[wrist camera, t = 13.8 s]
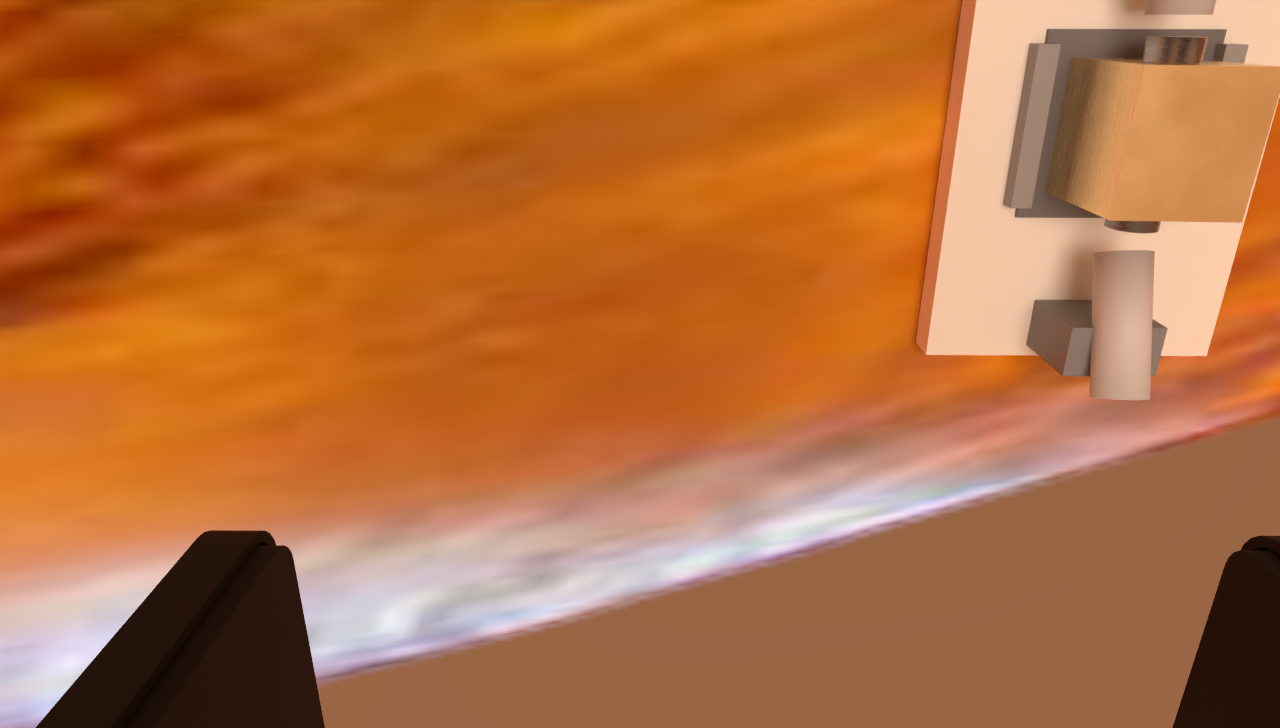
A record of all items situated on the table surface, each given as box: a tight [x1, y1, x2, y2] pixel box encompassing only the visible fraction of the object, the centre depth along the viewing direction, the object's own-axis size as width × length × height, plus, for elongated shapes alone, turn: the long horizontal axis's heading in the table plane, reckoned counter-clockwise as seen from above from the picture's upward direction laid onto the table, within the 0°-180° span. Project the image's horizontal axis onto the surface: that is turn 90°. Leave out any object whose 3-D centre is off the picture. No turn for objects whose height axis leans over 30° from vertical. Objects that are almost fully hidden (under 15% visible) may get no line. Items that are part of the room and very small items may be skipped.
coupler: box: [1045, 36, 1280, 233], centre depth 30 cm, size 7×4×5 cm
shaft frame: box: [916, 0, 1280, 400], centre depth 31 cm, size 19×12×7 cm, turn 0°
